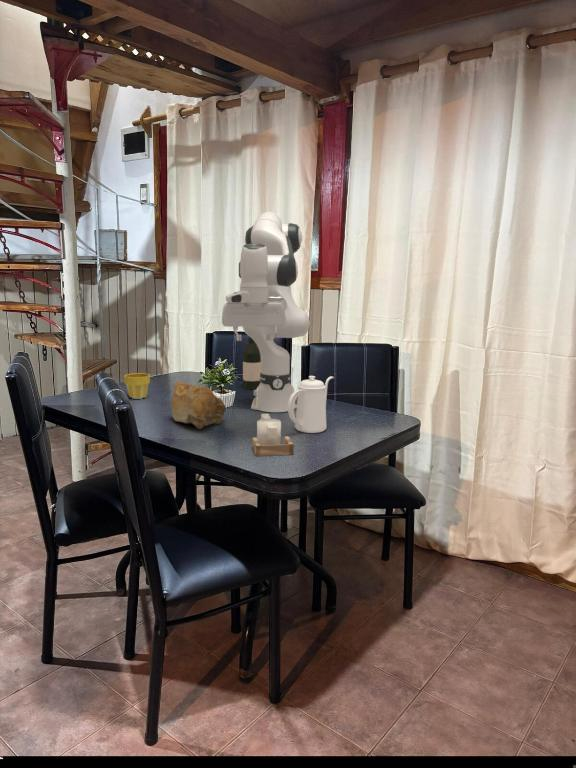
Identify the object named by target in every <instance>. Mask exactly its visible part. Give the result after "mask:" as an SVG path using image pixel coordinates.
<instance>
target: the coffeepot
mask: <svg viewBox="0 0 576 768" xmlns="http://www.w3.org/2000/svg"><path fill="white" fill-rule="evenodd" d="M334 378H335V377H334V376H331V375H330V376H329V377H328V378H327V379H326V380H325V383H324V382H323V381H322V380H319V379H316V376H314V375H309V376H308V379H303V380H301V381H300V382H299V384H298V385H297V388H298V389H297V390H294V392H293V393H292V395H291V396H290V398H289V401H288V411H287V412H288V416H289V419H290V420H291V421H292V422H293V423H294V428H295V429H296V431H298V432H302V433H305V434H318V433H322V432H324V431H326V430H327V409H326V408H327V395H328V385H329V381H330V380H331V379H334ZM291 402H292V403H291ZM294 404H297V408H296V411H295V409H294ZM295 412H296V413H295Z"/></svg>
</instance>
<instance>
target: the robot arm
mask: <svg viewBox="0 0 576 768" xmlns="http://www.w3.org/2000/svg"><path fill="white" fill-rule="evenodd" d="M302 242H303V235H302V231H301V228H300V226H299V225H298V224H297V223H290V222H288V223H283V222H282V219H281V218H280V216H279V215H278V214H277V213H275V212H273V211H265V212H262V213H261V214H259V216H258V217H257V218H256V220H255V221H254V224H252V226H251V227H249V228H248V229H247V230H246V231H245V236H244V245H243V246H242V247H241V253H240V259H239V260H240V261H239V262H238V277H239V278H240V284H239V291H235V292H232V293H229V294H226V296H225V301H226V303H225V304H224V305H223V308H222V311H221V312H222V313H221V325H222V326H223V327H227V328H228V327H229V328H231V327H232V330H233V332H234V334H235V336H236V341H237V342H241V341H243V339H242V337H243V336H242V334H239V333H238V330H239V327H242V329H243V331H244V333H245V334H246V335H247V337H248V336H250V337H251V338H252V339H253V340H254V341H255V343H256V344H257V346H258V348H259V351H260V356H261V373H260V384H259V386H258V388H257V390H253V396H254V398H253V400H252V404H251V406H250V409H251V410H257V411H261V412H266V413H267V412H268V413H284V412H288V401H289V398H290V396H291V395H292V393H293V392H295V387H293V385H292V384H291V381H292V379H291V373H290V371H291V369H290V368H291V367H290V364H291V363H290V361H291V360H290V358H291V356H290V353H289V351H288V350H287V349H285V348H284V347H282V346H280V345H277V343H275V341H274V339H276V338H278V339H279V338H280V339H282V338H283V339H284V338H285V339H294V338H299V337H304V336H305V335H306V334H307V333H308V331H309V330H310V325H311V323H310V322H311V320H310V318H309V315H308V314H307V312H306V311H304V310H303V309H301V307H299V306H298V305H297V304H296V302H295V300H294V299H293V294H292V288H291V287H292V285H294V283H295V282H297V279H298V274H299V273H298V272H299V269H298V264H297V261H296V258H295V253H297V252H298V251H299V249H300V248H301V245H302ZM291 403H292V402H291ZM295 409H297V403H295V404H294V410H295Z"/></svg>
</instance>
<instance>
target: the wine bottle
mask: <svg viewBox="0 0 576 768" xmlns="http://www.w3.org/2000/svg"><path fill="white" fill-rule="evenodd" d="M247 337H248V342H247V345H246V347H245V348H244V350H243V352H242V389H243V390H245V391H254V390H257V388H258V386H259V384H260V373H261V356H260V351H259V348H258V346H257V344H256V343H255V341H254V340H253V339H252V338H251V337H250V336H248V335H247Z"/></svg>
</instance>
